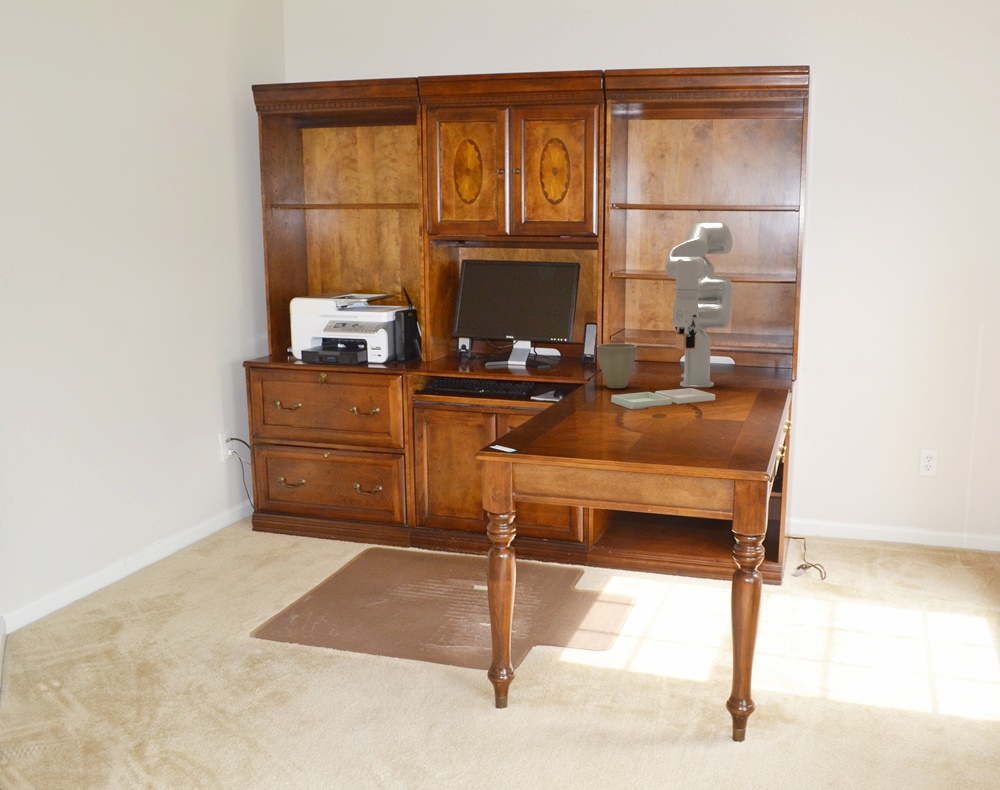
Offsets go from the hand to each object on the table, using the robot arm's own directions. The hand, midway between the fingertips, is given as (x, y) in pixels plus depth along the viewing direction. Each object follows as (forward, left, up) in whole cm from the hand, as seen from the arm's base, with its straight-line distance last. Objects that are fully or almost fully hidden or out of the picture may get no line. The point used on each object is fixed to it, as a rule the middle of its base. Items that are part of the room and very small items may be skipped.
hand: (685, 346), depth 331 cm
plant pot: (-35, -8, -19) cm, 41 cm away
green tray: (0, -18, -19) cm, 26 cm away
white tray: (0, 0, -19) cm, 19 cm away
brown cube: (0, 0, -1) cm, 1 cm away
